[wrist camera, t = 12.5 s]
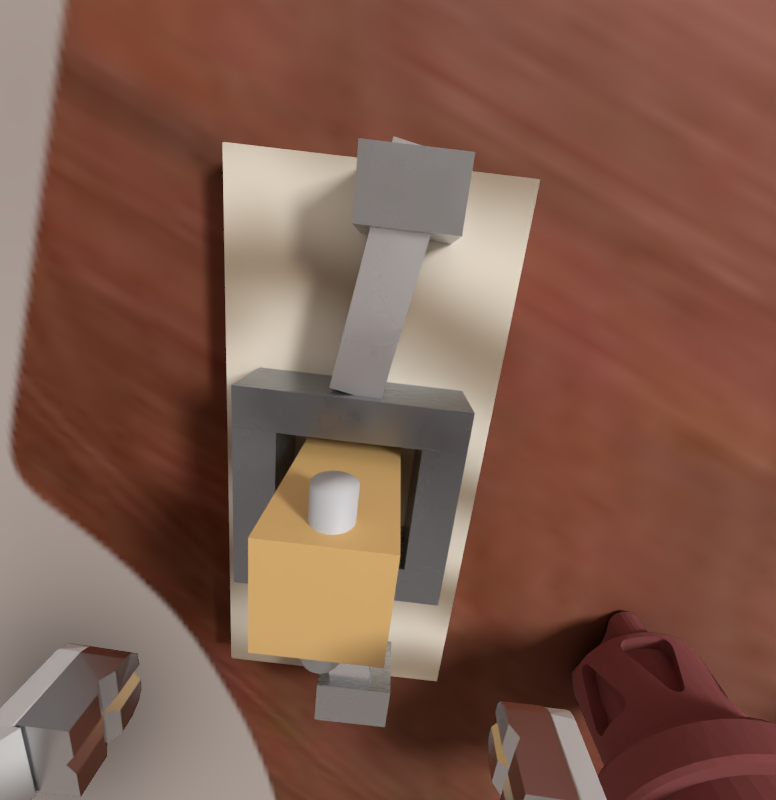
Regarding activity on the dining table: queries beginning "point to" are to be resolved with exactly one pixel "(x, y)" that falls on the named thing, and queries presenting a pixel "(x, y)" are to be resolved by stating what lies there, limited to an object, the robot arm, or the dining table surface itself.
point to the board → (327, 313)
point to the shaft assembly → (370, 395)
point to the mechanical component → (668, 722)
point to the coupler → (328, 557)
